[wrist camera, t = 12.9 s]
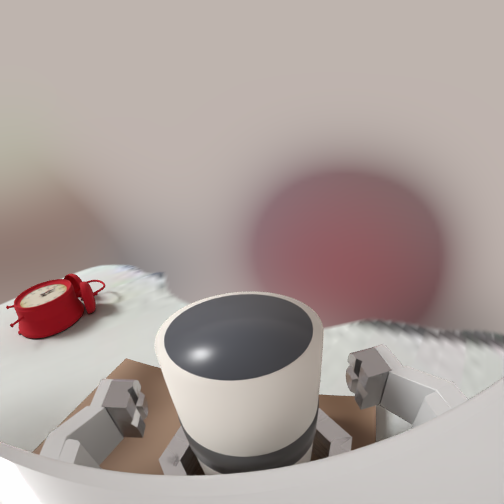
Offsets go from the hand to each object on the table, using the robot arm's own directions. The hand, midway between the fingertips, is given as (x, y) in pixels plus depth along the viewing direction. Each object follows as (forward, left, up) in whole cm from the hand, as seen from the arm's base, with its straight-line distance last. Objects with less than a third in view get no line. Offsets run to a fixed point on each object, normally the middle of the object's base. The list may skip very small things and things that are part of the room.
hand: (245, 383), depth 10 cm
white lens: (0, -1, -7) cm, 7 cm away
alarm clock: (-31, +11, -8) cm, 34 cm away
